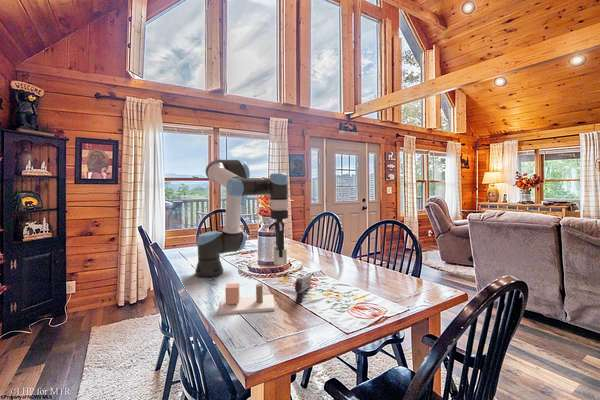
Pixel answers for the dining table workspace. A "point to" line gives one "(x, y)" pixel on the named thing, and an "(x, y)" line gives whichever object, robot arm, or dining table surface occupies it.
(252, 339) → the dining table surface
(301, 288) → the grey curved bar
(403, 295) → the dining table surface
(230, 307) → the stand
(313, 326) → the dining table surface
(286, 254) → the pale green block
